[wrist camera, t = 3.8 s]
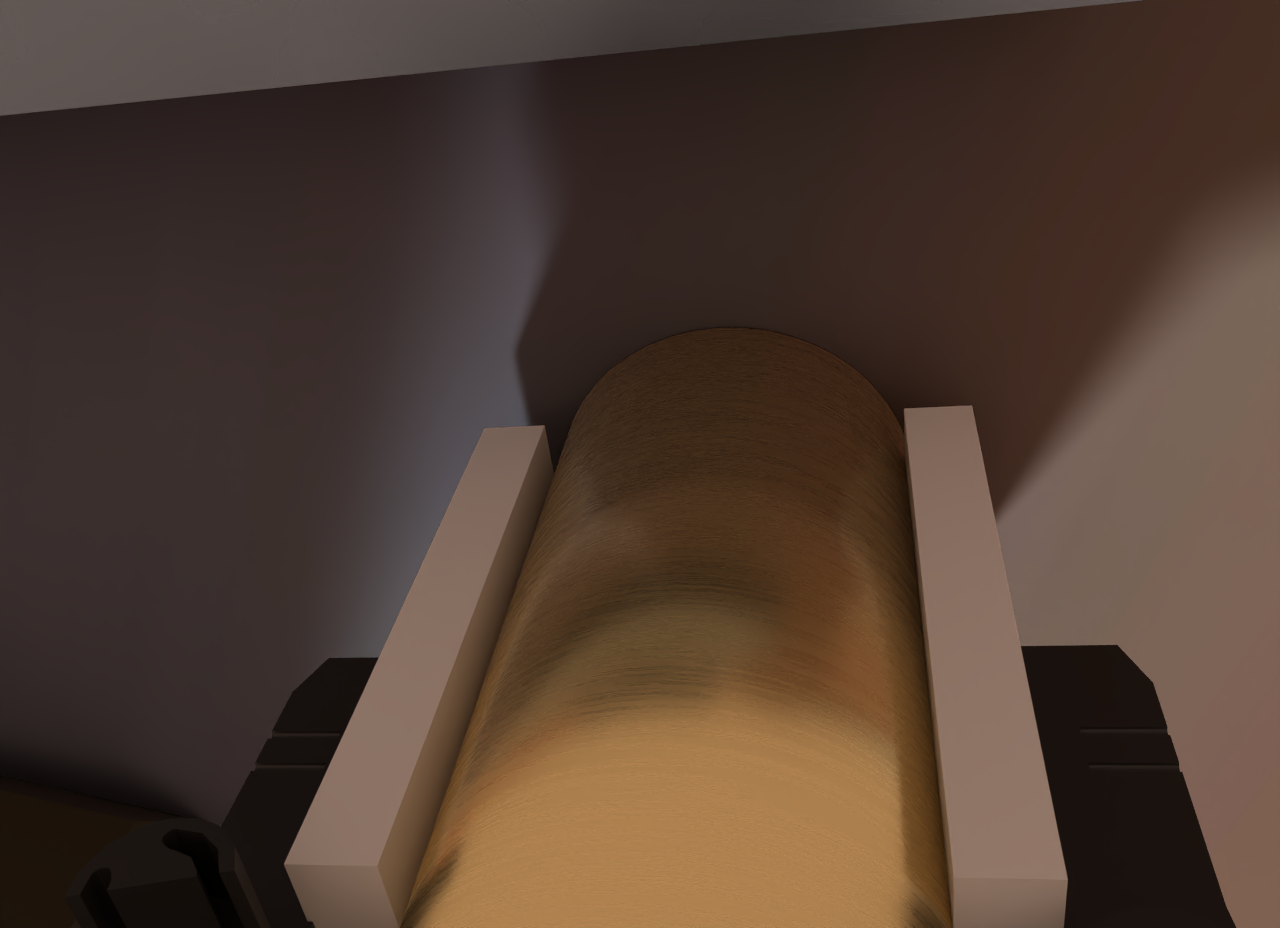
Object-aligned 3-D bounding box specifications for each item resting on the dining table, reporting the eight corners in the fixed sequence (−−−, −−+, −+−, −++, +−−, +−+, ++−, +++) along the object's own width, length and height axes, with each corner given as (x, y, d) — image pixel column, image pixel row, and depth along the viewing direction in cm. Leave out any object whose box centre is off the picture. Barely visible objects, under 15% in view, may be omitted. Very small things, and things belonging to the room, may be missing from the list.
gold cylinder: (590, 622, 17) (363, 1537, 9) (536, 338, 15) (155, 1208, 6) (914, 616, 16) (1010, 1612, 8) (910, 316, 14) (1042, 1275, 6)
